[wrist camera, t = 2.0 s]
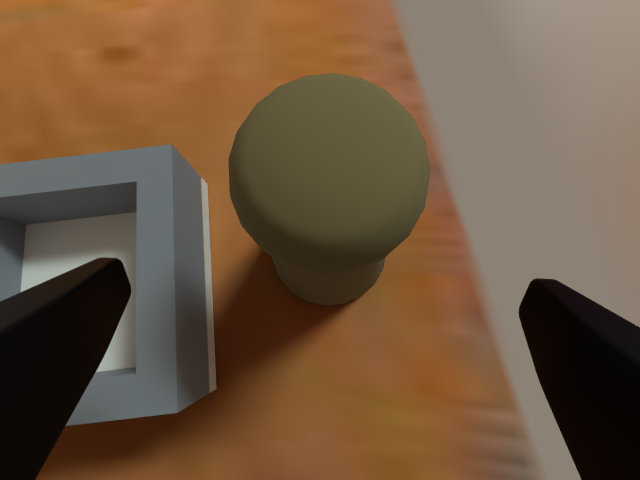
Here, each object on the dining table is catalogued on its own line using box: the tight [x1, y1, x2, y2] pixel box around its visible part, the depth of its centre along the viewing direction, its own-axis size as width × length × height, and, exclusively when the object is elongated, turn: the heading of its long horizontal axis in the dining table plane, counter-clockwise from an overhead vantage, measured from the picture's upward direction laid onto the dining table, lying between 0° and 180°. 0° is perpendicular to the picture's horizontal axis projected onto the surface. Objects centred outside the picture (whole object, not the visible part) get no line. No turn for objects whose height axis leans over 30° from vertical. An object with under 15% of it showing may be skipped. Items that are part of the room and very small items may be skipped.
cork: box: [229, 73, 430, 306], centre depth 13 cm, size 6×6×11 cm
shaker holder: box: [0, 145, 217, 426], centre depth 16 cm, size 11×11×4 cm
